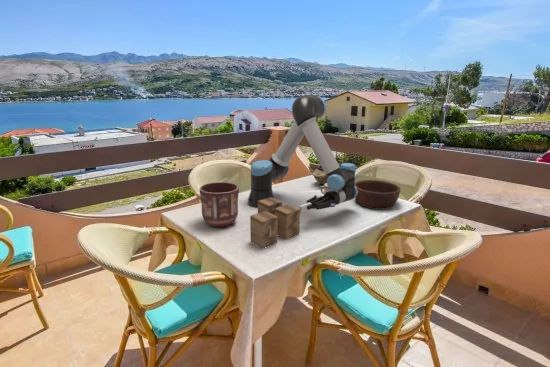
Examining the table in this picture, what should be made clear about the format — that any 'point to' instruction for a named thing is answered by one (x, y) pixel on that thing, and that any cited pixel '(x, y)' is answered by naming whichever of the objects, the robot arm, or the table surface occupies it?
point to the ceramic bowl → (320, 175)
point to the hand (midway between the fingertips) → (300, 208)
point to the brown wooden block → (288, 221)
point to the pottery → (219, 203)
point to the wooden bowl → (377, 194)
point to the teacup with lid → (325, 189)
